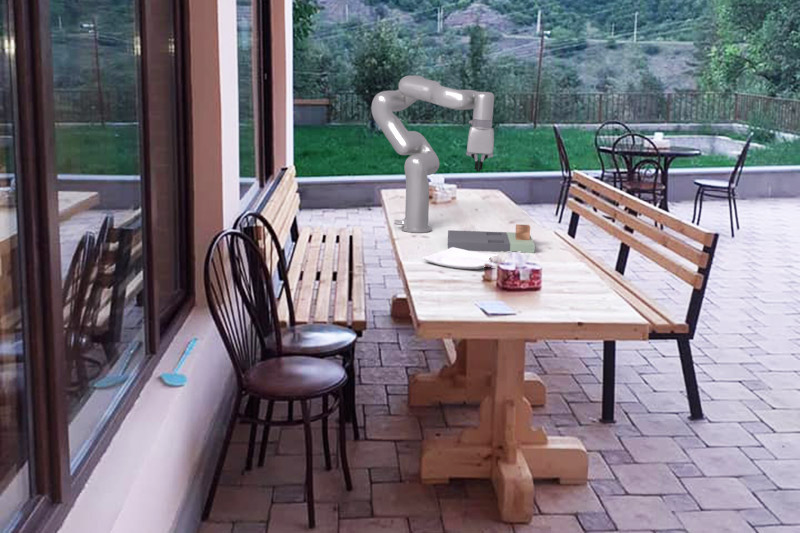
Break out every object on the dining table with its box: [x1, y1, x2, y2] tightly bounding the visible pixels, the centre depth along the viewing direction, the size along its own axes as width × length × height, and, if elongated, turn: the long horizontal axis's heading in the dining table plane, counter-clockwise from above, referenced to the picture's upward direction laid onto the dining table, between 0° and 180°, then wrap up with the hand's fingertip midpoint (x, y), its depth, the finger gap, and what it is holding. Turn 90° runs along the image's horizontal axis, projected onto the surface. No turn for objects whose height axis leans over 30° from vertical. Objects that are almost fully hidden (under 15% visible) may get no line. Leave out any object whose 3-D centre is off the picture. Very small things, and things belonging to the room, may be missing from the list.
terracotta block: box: [515, 223, 531, 240], centre depth 345 cm, size 5×5×5 cm
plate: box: [421, 247, 500, 270], centre depth 316 cm, size 24×24×3 cm
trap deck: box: [447, 229, 536, 254], centre depth 347 cm, size 32×24×3 cm
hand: (478, 171), depth 356 cm, fingers closed
